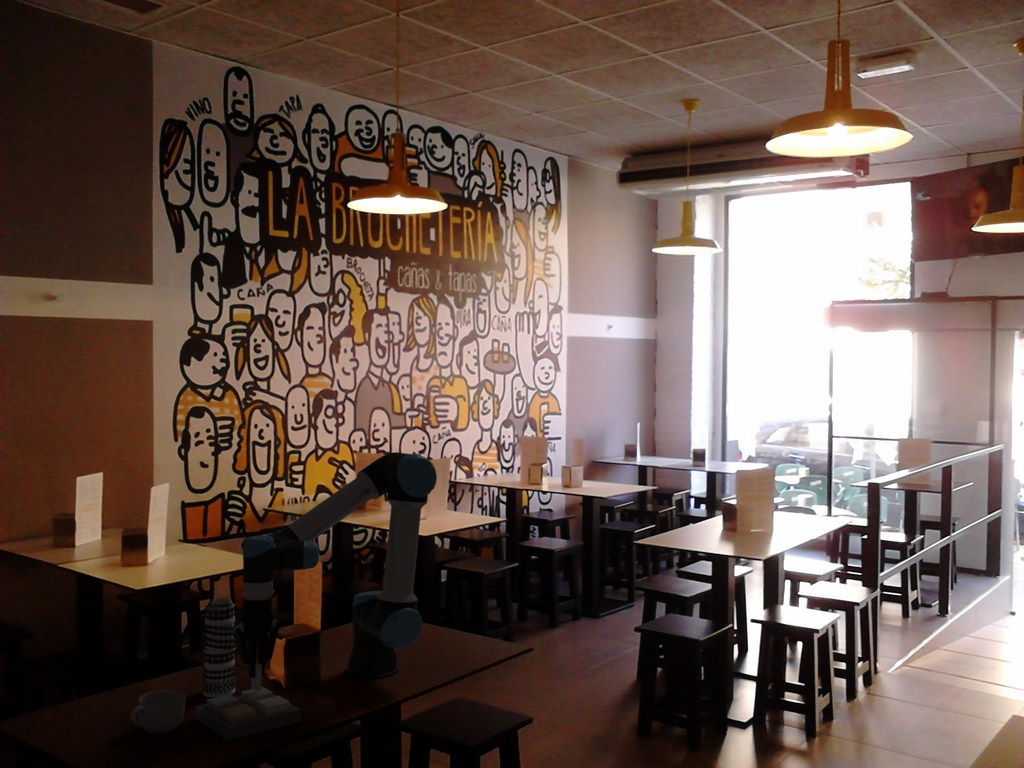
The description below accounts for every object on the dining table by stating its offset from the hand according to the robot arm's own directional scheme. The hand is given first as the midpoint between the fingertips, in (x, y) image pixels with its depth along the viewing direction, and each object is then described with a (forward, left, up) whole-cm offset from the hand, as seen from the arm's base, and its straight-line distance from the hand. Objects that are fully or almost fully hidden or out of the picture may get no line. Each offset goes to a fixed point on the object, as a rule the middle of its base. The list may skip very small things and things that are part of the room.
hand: (256, 689), depth 227 cm
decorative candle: (+1, -20, -6) cm, 21 cm away
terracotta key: (+9, +9, -4) cm, 13 cm away
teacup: (+24, -3, -6) cm, 25 cm away
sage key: (0, 0, -4) cm, 4 cm away
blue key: (+9, 0, -4) cm, 10 cm away
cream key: (0, +9, -4) cm, 10 cm away
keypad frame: (+4, +5, -6) cm, 8 cm away
